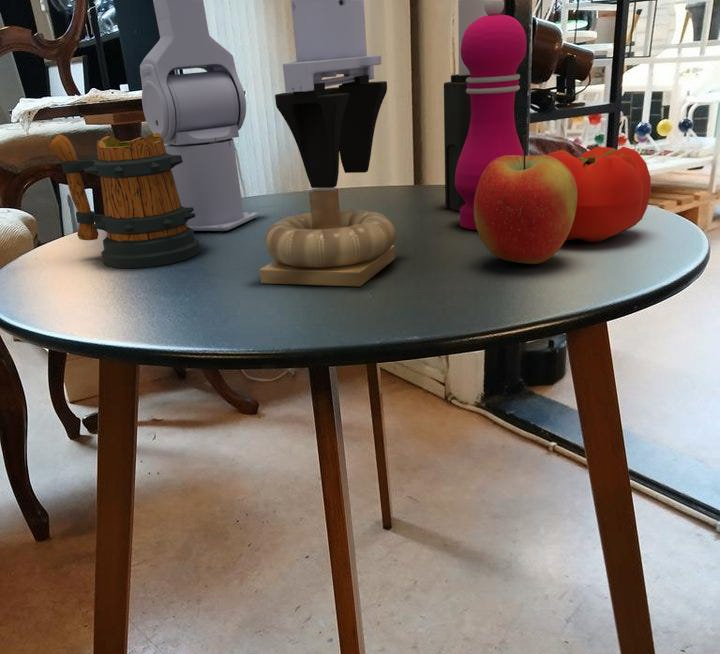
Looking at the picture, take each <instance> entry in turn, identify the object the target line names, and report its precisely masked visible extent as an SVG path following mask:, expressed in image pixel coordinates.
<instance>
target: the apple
mask: <svg viewBox="0 0 720 654" xmlns="http://www.w3.org/2000/svg"><path fill="white" fill-rule="evenodd" d="M521 138H522V139H521V141H522V149H523V152H524V156H518V155H505V156H501V157H498V158H496V159H494V160H493V161H492V162H490V163H489V164H488V165H487V167H486V168H485V170H484V171H483V173H482V175H481V177H480V180H479V183H478V186H477V189H476V193H475V199H474V218H475V224H476V228H477V230H476V231H477V234H478V236H479V238H480V240H481V242H482V244H483V245H484V246H485V248H486V249H487V250H488V252H490V253H491V254H492V255H493V256H495V257H496V258H499V259H500V260H502V261H506V262H512V263H517V264H518V263H519V264H526V265H539V264H542V263H545V262H546V261H547V260H550V259H551V258H552V257H553V256H554V255H555V254H556V253H557V252H559V250H560V249H561V248H562V246H563V245H564V243H565V240H566V238H567V236H568V234H569V232H570V229H571V227H572V224H573V221H574V217H575V212H576V207H577V185H576V181H575V178H574V176H573V174H572V173H571V171H570V170H569V169H568V167H567V166H566V165H565V164H564V163H562V162H561V161H560V160H558V159H556V158H554V157H551V156H547V154H538V155H526V141H527V138H528V135H527V134H525V135H522V137H521ZM566 241H567V240H566Z"/></svg>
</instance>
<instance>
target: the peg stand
mask: <svg viewBox="0 0 720 654" xmlns="http://www.w3.org/2000/svg"><path fill="white" fill-rule="evenodd" d="M308 196H309V207H310V212H311V219H312V229H332V228H341V224H340V211H339V210H340V199H339V189H338V188H337V187H333V188H312V189H310V190H308ZM395 259H396V246H395V245H394V244H393V245H392V247H391V248H390V249H389V250H388V251H386V252H385V253H384V254H382V255H381V256H380V257H378V258H376V259H373V260H369V261H365V262H362V263H358V264H354V265H348V266H338V267H329V268H304V267H294V266H290V265H287V264H283V263H279V262H277V261H275V260H273V261H271V262H270V263H268V264H266V265H265V266H263V267H261V268H259V277H260V283H261V284H271V285H272V284H275V285H276V284H277V285H299V286H300V285H301V286H330V287H331V286H332V287H333V286H334V287H356V288H357V287H359V288H361V287H362V286H363V285H364V284H366V283H367V282H368V281H370V280H371V279H372V278H373V277H375V276H376V275H377V274H378V273H379V272H380V271H383V269H385V268H386V267H387V266H388V265H389V264H391V263H392V262H393V261H394V260H395Z"/></svg>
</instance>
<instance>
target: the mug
mask: <svg viewBox="0 0 720 654" xmlns="http://www.w3.org/2000/svg"><path fill="white" fill-rule="evenodd" d="M146 136H147V137H136V138H134V139H132V140H127V141H126V140H125V141H121V140H120V139H117V138H115V137H113V136H110V135H105V136H104V137H102V138H100V139H97V140H96V142H95V143H96V150H97V151H96V152H97V160H96V159H84V160H81V159H78V157H77V154H76V151H75V148H74V146H73V144H72V142H71V141H70V139H69V138H68V137H67V136H65V135H64V134H61V133H59V134H57V135H55V136H54V137H53V138H52V139H51V140H50V141H49V143H48V148H49V150H50V151H51V152H53V154H55V155H56V156H58V158H60V159H61V160H62V161H61V162H60V164H61V169H62V173H63V174H66V180H67V186H68V190H69V193H70V197H71V200H72V203H73V204H74V207H75V209H76V212H75V218H76V223H77V224H79V225H78V229H77V233H76V235H77V237H78V239H79V240H82V241H96V240H98V238H99V231H98V230H100V231H104V232H106V236H105V238H104V239H102V245H103V250H102V251H101V252H100V254H101V259H102V263H103V264H104V265H105V266H106V267H111V268H116V269H143V268H152V267H153V268H154V267H159V266H165V265H170V264H175V263H179V262H182V261H185V260H190V259H191V258H193V257H195V256H197V255H199V254H200V253H201V243H200V239H198V238H196V236H195V232H194V231H193V229H191V228H190V227H187V223H186V222H187V221H188V220H189V219H191V218H194V217H195V213H191V212H192V211H194V209H193V207H188V208H185V207H182V206H181V202H180V199H179V195H178V192H177V188H176V185H175V181H174V177H173V174H172V170H171V169H172V168H174V166H176V165H178V164H180V163H182V162H183V160H182V159H181V158H182V157H181V155H171V154H168V153H166V149H165V146H164V142H163V139H162V136H161V135H160V134H159V133H152V132H151V133H148V134H146ZM83 171H84V173H87V174H91V175H94V176H98V177H100V185H101V186H100V187H101V194H102V201H103V202H102V203H103V211H104V212H103V213H104V214H98V213H96V212H95V211H94V210H91V209H92V208H91V205H90V201H89V198H88V196H87V191H86V189H85V185H84V181H83V179H82V175H81V172H83Z"/></svg>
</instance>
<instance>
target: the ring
mask: <svg viewBox="0 0 720 654" xmlns="http://www.w3.org/2000/svg"><path fill="white" fill-rule="evenodd" d="M339 211H340V224H341V228H332V229H312V219H311V211H310V212H304V213H300V214H296V215H290V216H287V217H284V218H282V219H280V220H278V221H276V222H274V223H273V224H271V225H270V226H269V227H268V229H267V230H266V232H265V233H266V234H265V238H264V240H265V245H266V250H267V252H268V254H269V256H270V257H271V258H272V259H273V261H277V262H279V263H283V264H287V265H290V266H294V267H304V268H329V267H338V266H348V265H354V264H358V263H362V262H365V261H369V260H373V259H376V258H378V257H380V256H381V255H382V254H384V253H385V252H386V251H388V250H389V249H390V248H391V247H392V245H394V244H395V241H396V237H397V236H396V235H397V234H396V232H397V231H396V229H395V228H396V227H395V226H394V224H393V223H392V221H390V219H389V218H387V216H385V215H384V214H382V213H381V212H377V211H371V210H366V209H365V210H364V209H339Z"/></svg>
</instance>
